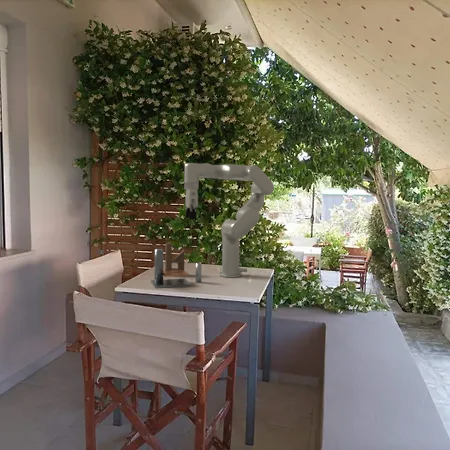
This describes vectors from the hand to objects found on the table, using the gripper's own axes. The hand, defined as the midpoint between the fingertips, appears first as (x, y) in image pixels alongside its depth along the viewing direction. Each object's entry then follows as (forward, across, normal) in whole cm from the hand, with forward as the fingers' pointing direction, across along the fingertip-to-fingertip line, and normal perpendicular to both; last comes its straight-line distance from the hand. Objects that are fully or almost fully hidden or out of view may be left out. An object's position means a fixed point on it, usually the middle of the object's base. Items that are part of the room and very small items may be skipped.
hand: (190, 218), depth 237 cm
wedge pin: (+33, -9, -3) cm, 34 cm away
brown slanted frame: (+33, +12, +6) cm, 36 cm away
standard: (+33, -11, +12) cm, 37 cm away
